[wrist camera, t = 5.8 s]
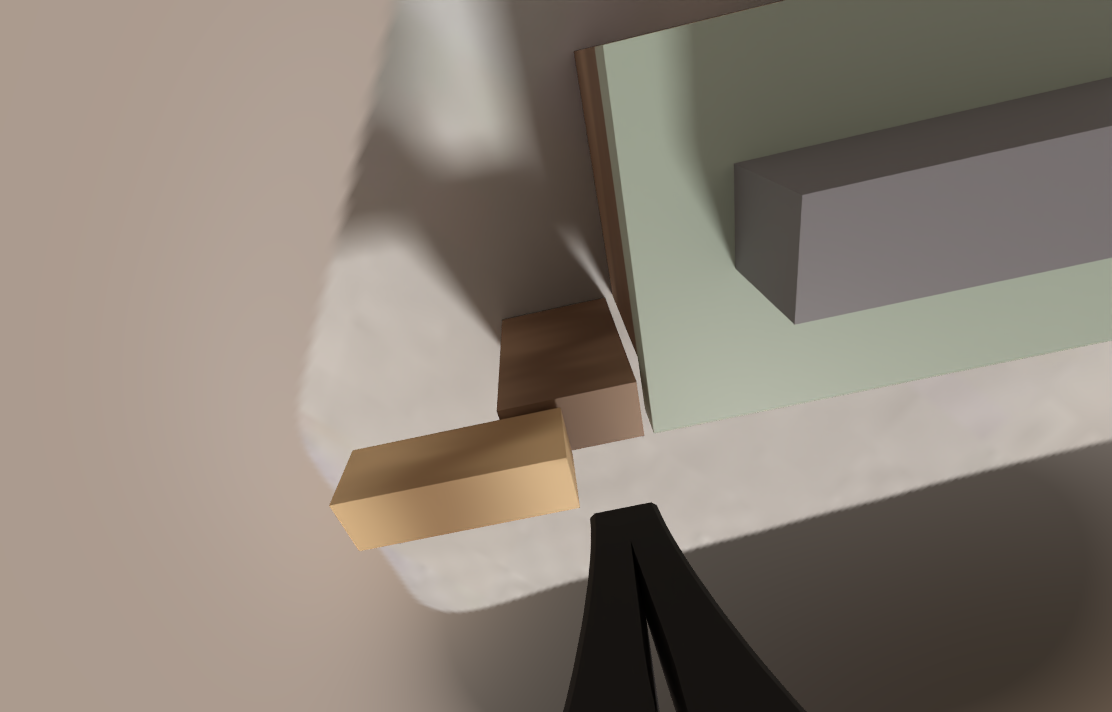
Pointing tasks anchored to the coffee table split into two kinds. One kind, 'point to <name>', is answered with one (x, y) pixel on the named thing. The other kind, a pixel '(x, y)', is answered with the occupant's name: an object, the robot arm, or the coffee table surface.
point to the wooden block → (457, 480)
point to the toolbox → (579, 323)
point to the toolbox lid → (859, 195)
